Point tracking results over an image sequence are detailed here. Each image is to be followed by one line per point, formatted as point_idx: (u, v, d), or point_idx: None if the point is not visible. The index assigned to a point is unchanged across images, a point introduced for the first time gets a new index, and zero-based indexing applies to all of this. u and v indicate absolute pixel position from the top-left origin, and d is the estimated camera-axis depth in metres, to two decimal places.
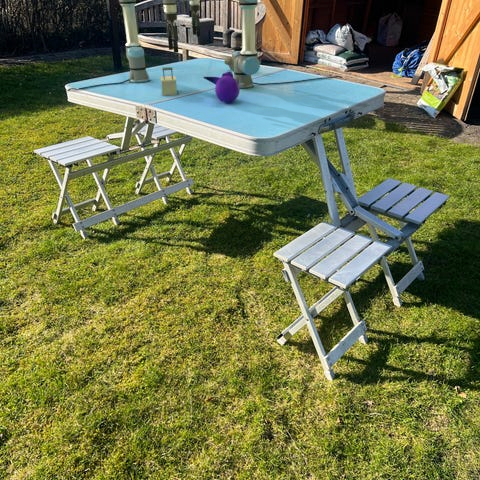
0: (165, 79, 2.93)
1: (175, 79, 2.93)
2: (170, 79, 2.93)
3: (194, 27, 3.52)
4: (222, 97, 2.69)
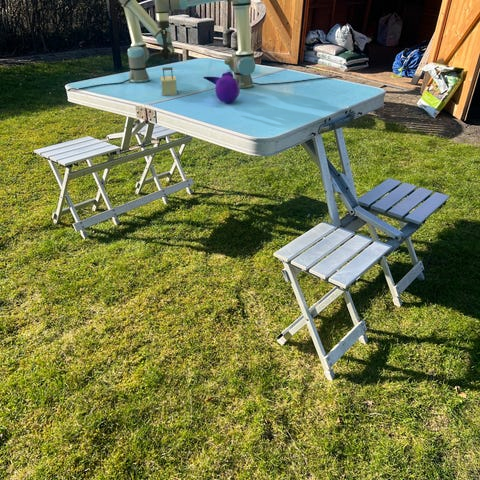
0: (165, 79, 2.93)
1: (175, 79, 2.93)
2: (170, 79, 2.93)
3: (153, 57, 3.19)
4: (222, 97, 2.69)
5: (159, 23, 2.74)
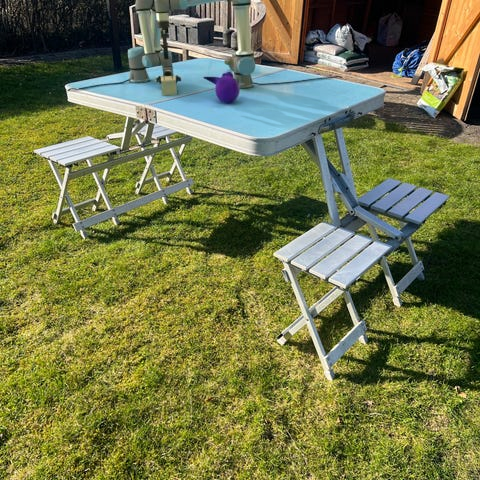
0: (165, 79, 2.93)
1: (175, 79, 2.93)
2: (170, 79, 2.93)
3: None
4: (222, 97, 2.69)
5: (159, 23, 2.74)
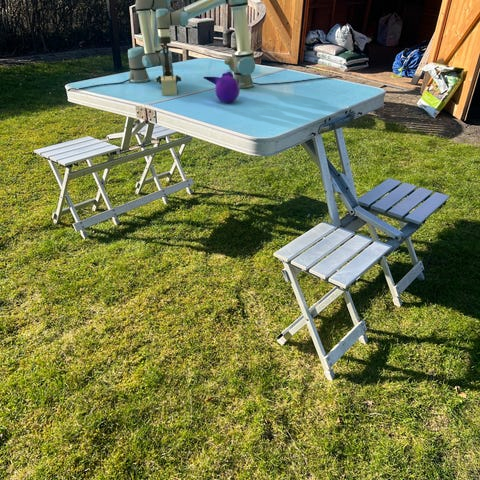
0: (165, 79, 2.93)
1: (175, 79, 2.93)
2: (170, 79, 2.93)
3: None
4: (222, 97, 2.69)
5: (161, 39, 2.79)
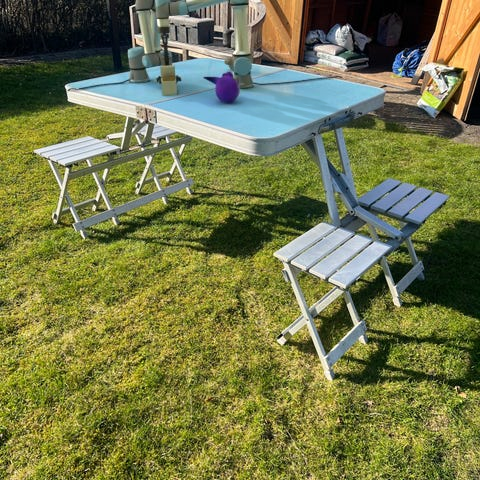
0: None
1: None
2: None
3: None
4: (222, 97, 2.69)
5: (160, 29, 2.82)
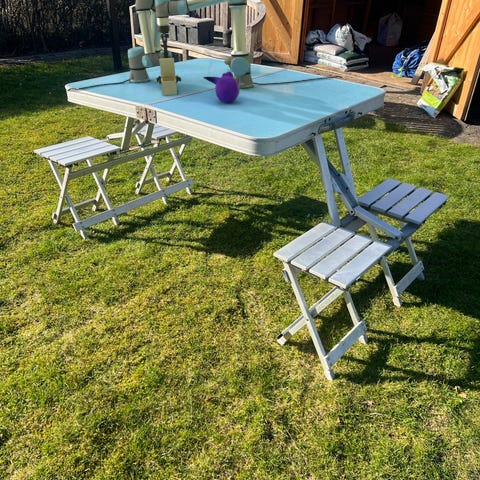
0: None
1: (173, 59, 2.93)
2: None
3: None
4: (222, 97, 2.69)
5: (160, 27, 2.86)
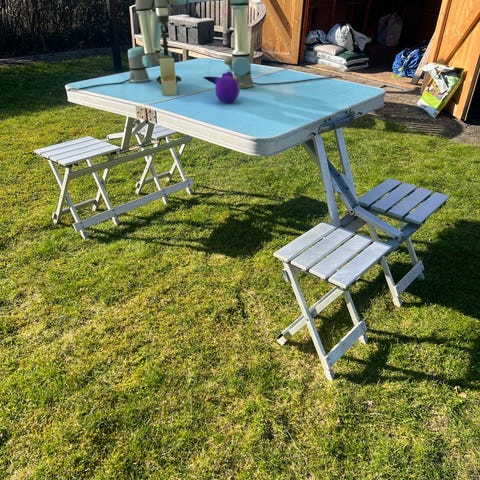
0: None
1: (173, 60, 2.93)
2: None
3: None
4: (222, 97, 2.69)
5: (159, 18, 2.81)
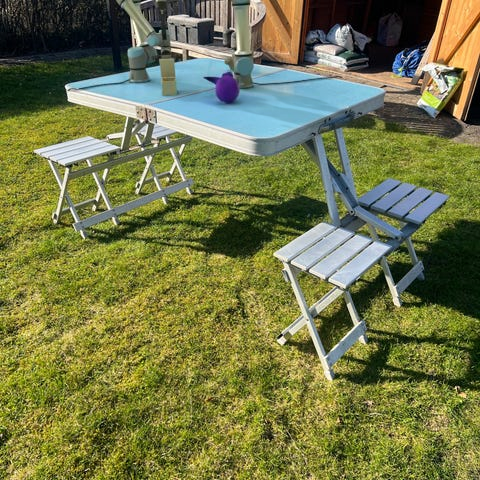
0: None
1: (173, 60, 2.93)
2: None
3: (157, 58, 3.12)
4: (222, 97, 2.69)
5: (157, 3, 2.71)
